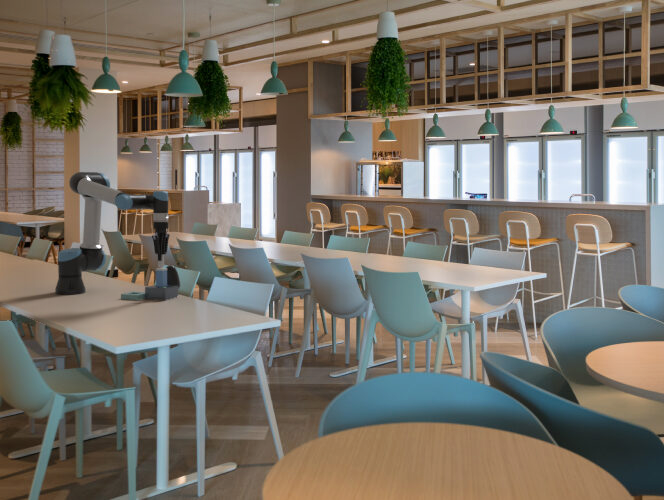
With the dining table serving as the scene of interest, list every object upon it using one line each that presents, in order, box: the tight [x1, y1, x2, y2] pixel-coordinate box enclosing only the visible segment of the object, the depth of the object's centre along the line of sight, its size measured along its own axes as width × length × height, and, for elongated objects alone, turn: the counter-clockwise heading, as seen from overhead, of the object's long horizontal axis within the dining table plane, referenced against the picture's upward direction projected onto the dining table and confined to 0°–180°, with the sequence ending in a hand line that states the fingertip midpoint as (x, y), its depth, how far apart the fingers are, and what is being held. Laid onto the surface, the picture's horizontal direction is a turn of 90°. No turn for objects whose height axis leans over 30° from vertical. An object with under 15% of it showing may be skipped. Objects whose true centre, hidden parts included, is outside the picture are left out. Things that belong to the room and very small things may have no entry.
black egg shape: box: [165, 265, 181, 292], centre depth 372 cm, size 10×10×15 cm
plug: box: [155, 267, 167, 287], centre depth 356 cm, size 4×4×14 cm
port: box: [144, 284, 179, 301], centre depth 357 cm, size 12×12×6 cm
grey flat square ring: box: [120, 291, 145, 301], centre depth 355 cm, size 10×10×2 cm
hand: (161, 266), depth 356 cm, fingers closed
